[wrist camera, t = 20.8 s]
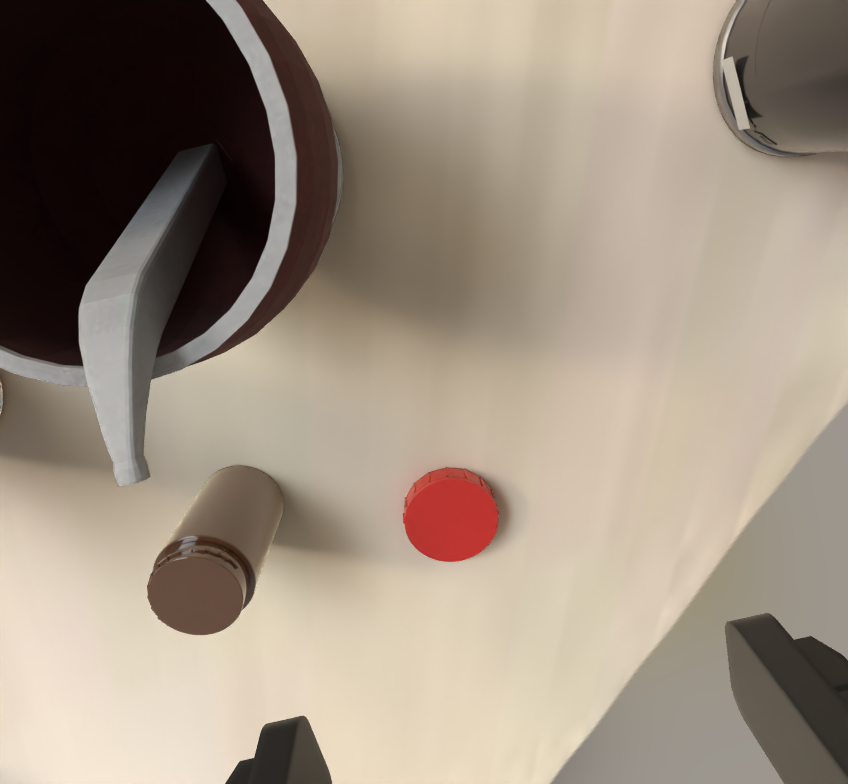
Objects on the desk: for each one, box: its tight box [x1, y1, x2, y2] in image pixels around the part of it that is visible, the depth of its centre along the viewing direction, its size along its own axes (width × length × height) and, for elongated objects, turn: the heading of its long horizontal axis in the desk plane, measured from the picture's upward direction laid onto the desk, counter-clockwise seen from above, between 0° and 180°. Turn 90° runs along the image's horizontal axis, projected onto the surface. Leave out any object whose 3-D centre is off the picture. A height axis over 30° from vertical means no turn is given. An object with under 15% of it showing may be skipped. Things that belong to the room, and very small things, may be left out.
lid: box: [403, 468, 499, 562], centre depth 39 cm, size 6×6×2 cm
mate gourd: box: [0, 0, 343, 486], centre depth 23 cm, size 16×14×20 cm
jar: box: [147, 466, 284, 635], centre depth 35 cm, size 5×5×9 cm
